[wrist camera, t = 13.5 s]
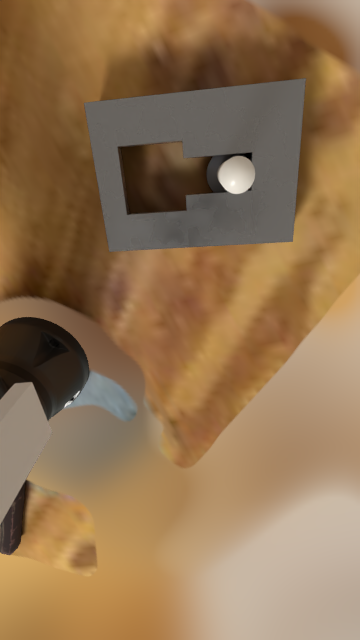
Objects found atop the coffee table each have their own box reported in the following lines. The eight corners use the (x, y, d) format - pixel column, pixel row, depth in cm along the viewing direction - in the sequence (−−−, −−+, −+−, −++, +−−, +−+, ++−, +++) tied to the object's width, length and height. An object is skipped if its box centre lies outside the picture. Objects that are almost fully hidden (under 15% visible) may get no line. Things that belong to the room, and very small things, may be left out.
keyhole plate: (118, 244, 39) (109, 251, 35) (97, 110, 33) (83, 102, 29) (284, 234, 36) (292, 241, 33) (294, 89, 31) (305, 78, 27)
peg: (207, 197, 36) (205, 212, 23) (205, 151, 34) (203, 140, 21) (248, 194, 35) (269, 208, 22) (249, 147, 33) (273, 134, 20)
